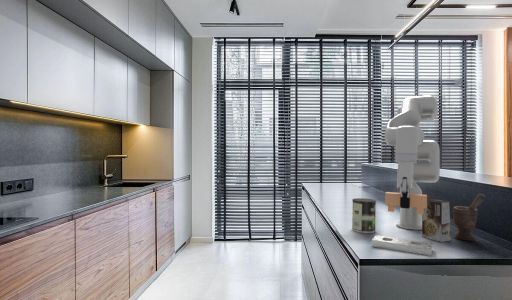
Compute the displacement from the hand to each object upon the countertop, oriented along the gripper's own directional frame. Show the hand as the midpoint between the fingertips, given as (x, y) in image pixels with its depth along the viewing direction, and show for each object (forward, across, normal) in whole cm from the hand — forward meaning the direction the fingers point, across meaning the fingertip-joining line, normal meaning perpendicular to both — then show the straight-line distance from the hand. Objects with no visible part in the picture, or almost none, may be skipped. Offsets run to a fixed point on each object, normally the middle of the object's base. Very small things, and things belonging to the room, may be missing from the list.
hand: (405, 206), depth 121 cm
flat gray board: (+16, 0, -1) cm, 16 cm away
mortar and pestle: (+16, -28, +22) cm, 39 cm away
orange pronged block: (+2, 0, 0) cm, 2 cm away
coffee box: (+16, -22, +10) cm, 29 cm away
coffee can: (+16, -20, -19) cm, 31 cm away
